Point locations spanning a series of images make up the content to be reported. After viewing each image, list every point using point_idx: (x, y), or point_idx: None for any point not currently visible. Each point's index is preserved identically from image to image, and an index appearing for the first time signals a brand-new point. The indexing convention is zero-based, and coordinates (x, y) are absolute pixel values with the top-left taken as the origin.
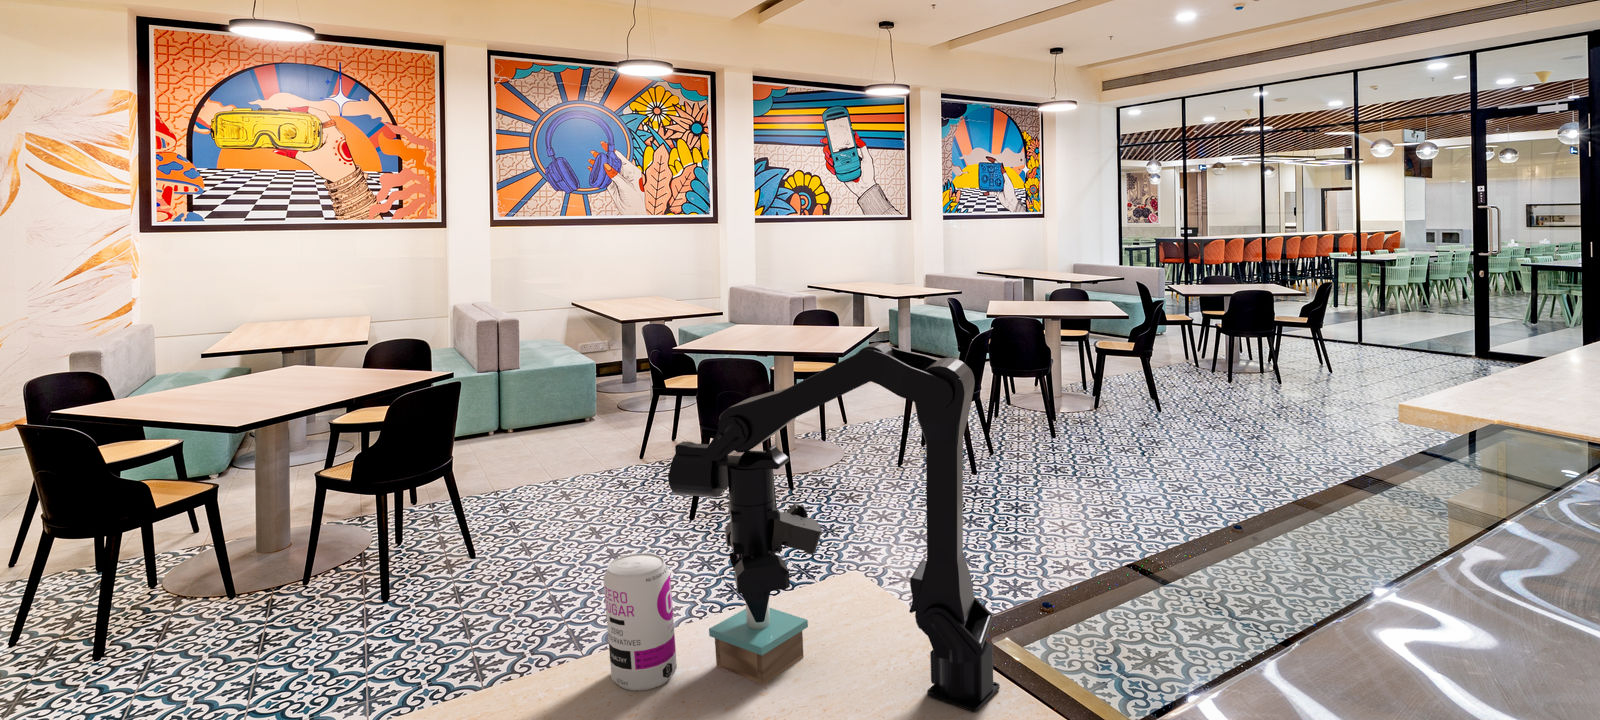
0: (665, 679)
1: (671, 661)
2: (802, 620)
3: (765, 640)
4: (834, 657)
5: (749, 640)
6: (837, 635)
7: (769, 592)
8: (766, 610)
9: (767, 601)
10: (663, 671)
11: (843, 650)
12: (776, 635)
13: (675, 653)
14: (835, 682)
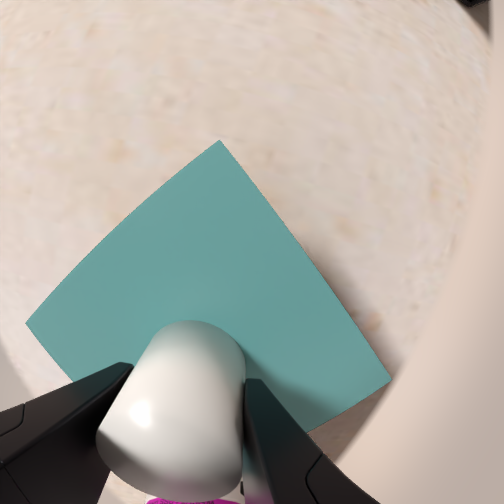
0: None
1: (240, 496)
2: (220, 166)
3: (348, 364)
4: (258, 88)
5: (321, 411)
6: (134, 57)
7: (369, 499)
8: (285, 409)
9: (316, 450)
10: None
11: (225, 55)
12: (326, 318)
13: None
14: (390, 132)
